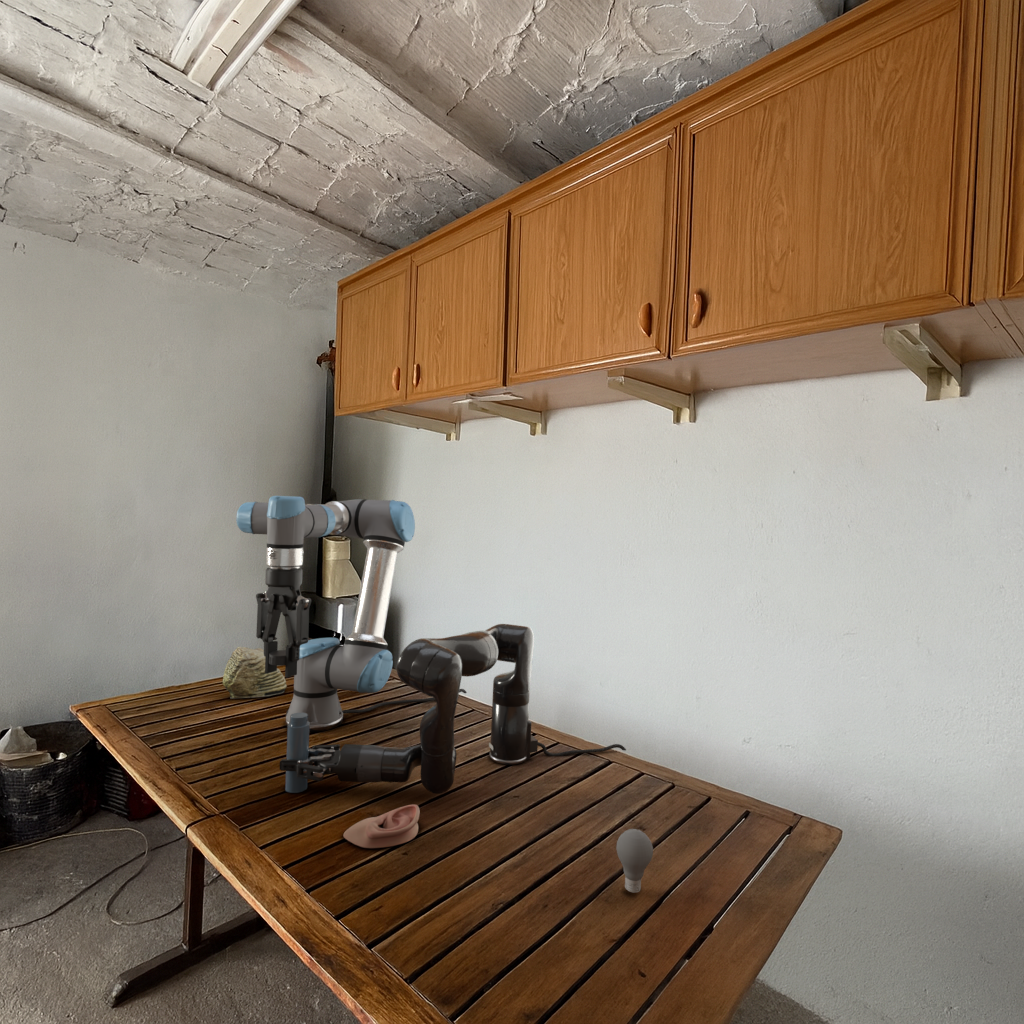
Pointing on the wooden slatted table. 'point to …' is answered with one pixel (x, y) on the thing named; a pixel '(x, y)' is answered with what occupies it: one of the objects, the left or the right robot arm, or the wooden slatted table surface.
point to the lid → (277, 658)
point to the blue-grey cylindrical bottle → (297, 749)
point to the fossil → (251, 675)
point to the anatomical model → (385, 828)
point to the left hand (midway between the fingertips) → (280, 673)
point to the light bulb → (634, 857)
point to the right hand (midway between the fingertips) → (285, 759)
